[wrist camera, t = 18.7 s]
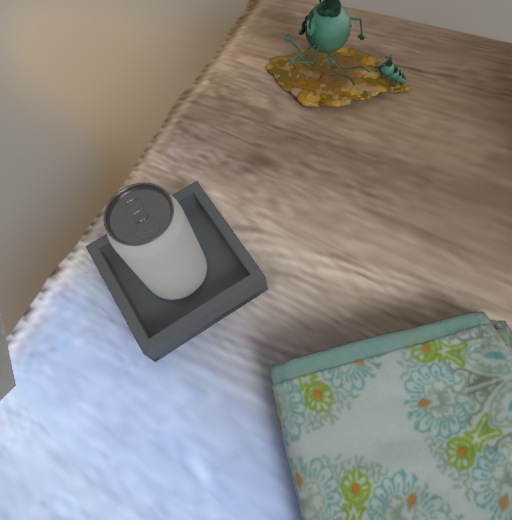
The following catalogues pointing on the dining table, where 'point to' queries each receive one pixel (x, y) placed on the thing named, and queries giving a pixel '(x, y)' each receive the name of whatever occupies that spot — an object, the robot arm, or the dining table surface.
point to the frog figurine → (333, 63)
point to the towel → (402, 424)
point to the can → (155, 240)
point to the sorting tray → (199, 302)
